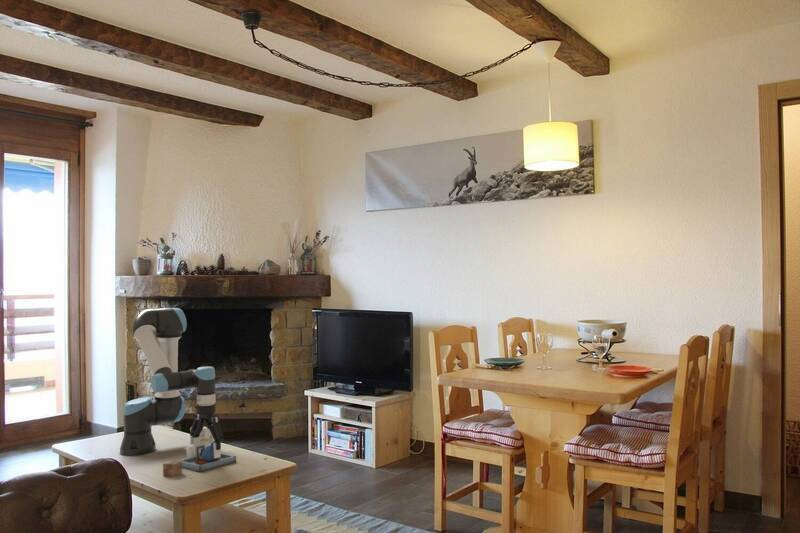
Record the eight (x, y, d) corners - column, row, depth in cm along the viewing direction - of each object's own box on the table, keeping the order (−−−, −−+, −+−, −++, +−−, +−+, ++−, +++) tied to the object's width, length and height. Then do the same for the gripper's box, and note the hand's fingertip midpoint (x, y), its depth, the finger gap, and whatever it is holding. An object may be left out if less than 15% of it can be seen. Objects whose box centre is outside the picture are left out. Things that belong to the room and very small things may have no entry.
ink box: (189, 453, 293) (189, 427, 293) (202, 448, 300) (201, 423, 301) (205, 454, 289) (205, 428, 290) (217, 450, 297) (217, 424, 297)
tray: (177, 466, 271) (177, 460, 271) (214, 456, 285) (214, 451, 286) (199, 472, 262) (199, 466, 262) (236, 461, 276) (236, 456, 276)
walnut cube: (163, 476, 258) (162, 463, 258) (171, 472, 263) (171, 460, 263) (173, 477, 257) (173, 464, 257) (181, 473, 261) (181, 461, 261)
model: (226, 461, 274) (225, 439, 274) (206, 466, 267) (206, 444, 267) (210, 457, 282) (209, 435, 282) (190, 462, 275) (190, 439, 275)
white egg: (184, 460, 281) (184, 446, 282) (193, 457, 285) (193, 443, 285) (190, 461, 279) (190, 447, 279) (199, 459, 282) (199, 445, 282)
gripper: (180, 402, 279) (181, 453, 279) (217, 408, 264) (218, 461, 263) (195, 400, 285) (196, 449, 284) (232, 405, 270) (233, 457, 269)
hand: (207, 455), depth 274 cm, fingers open, 13 cm apart
